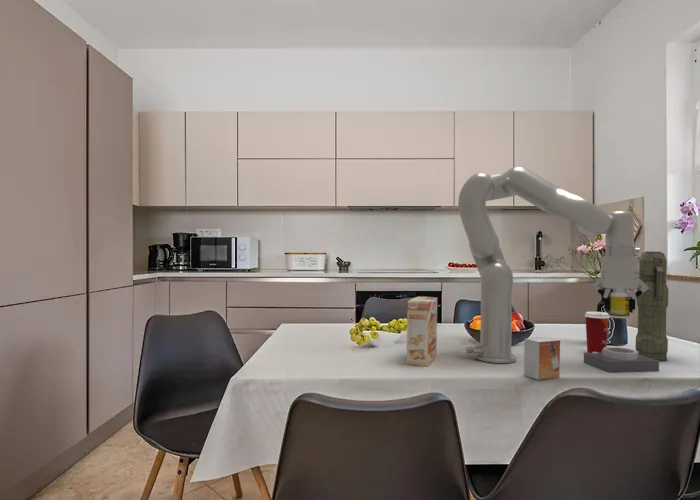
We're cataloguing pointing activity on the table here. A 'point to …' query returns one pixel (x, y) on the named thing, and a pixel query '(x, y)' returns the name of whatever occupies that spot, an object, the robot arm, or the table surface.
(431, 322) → the coffeecake box
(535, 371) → the small box
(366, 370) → the table surface
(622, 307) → the supplement bottle
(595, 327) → the paper cup
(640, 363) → the grey bottle holder base
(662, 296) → the thermos
